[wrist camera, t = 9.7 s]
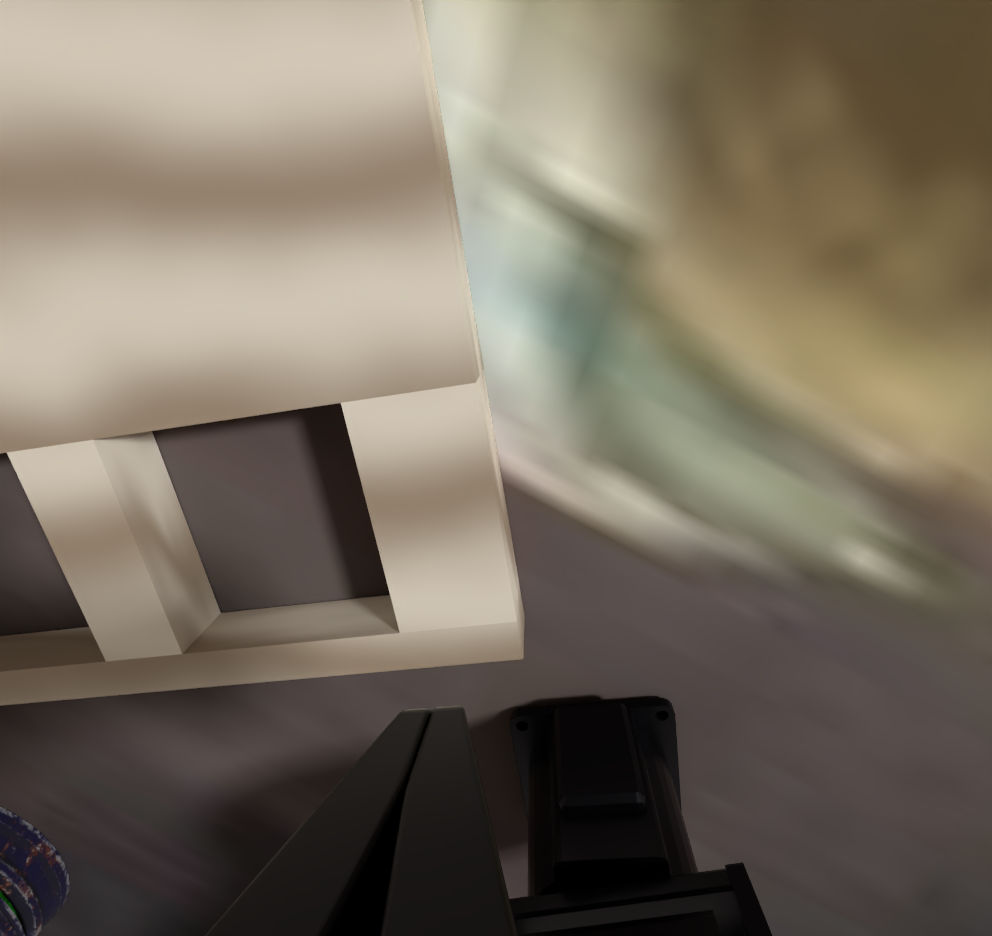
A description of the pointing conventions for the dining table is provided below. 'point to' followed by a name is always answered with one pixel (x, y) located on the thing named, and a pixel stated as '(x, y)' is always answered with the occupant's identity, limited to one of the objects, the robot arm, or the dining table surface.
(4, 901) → the storage jar
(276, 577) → the dining table surface
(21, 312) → the trap deck
